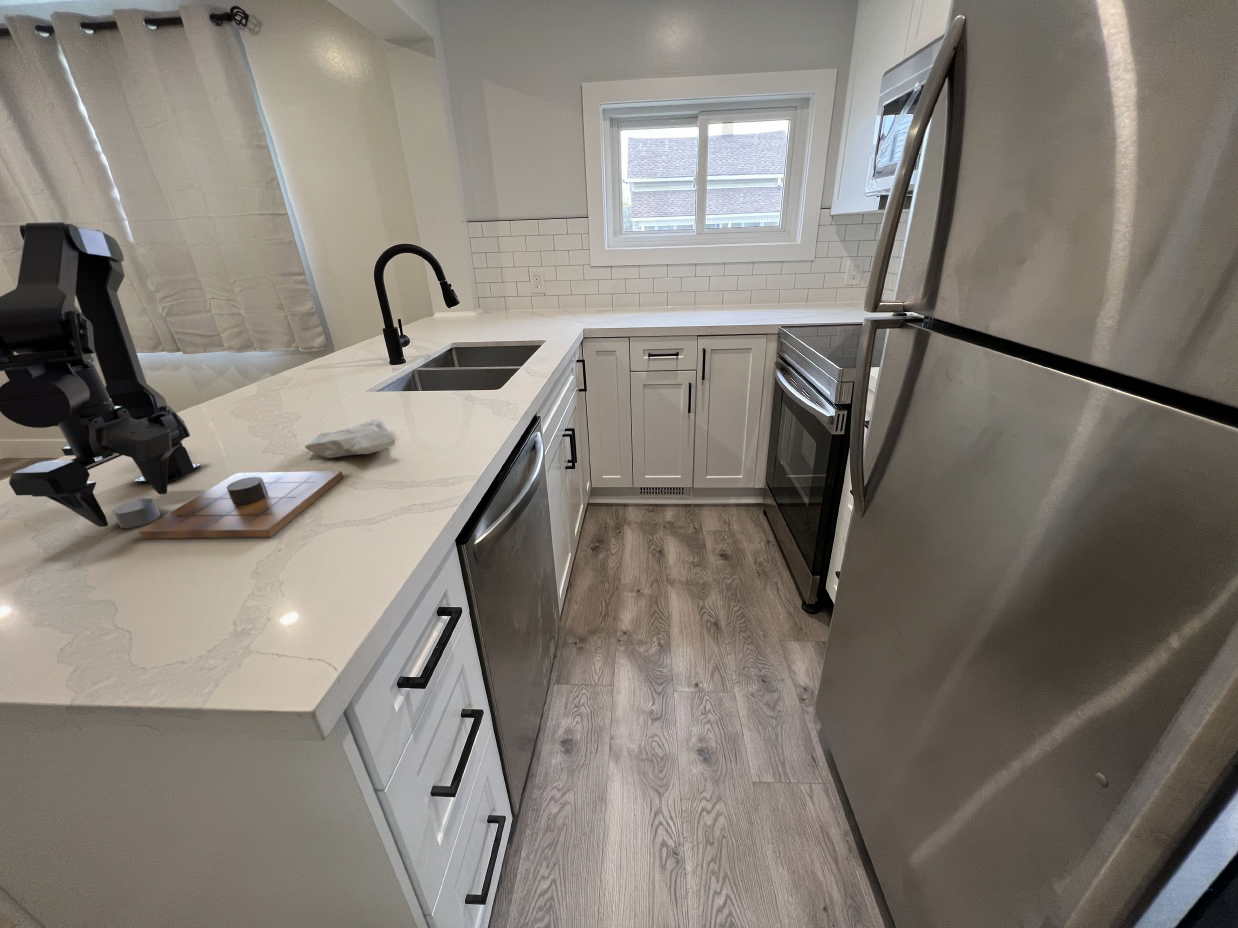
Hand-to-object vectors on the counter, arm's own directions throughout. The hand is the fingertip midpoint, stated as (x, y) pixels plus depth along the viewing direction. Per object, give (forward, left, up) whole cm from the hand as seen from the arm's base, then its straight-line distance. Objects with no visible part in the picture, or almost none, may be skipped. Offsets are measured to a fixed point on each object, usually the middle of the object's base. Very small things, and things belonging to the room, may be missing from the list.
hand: (135, 509), depth 71 cm
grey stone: (0, 0, -2) cm, 2 cm away
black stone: (+14, +4, 0) cm, 15 cm away
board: (+14, +4, -2) cm, 15 cm away
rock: (+19, +24, -2) cm, 31 cm away
